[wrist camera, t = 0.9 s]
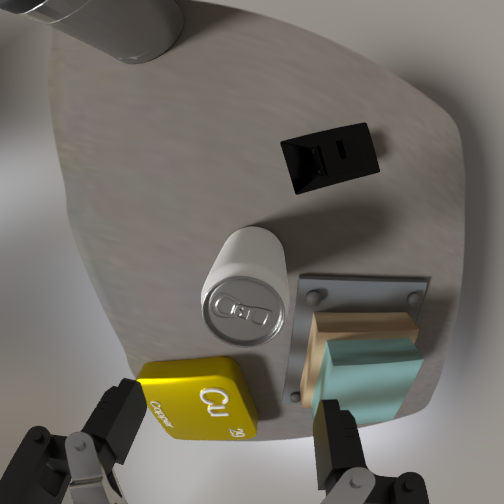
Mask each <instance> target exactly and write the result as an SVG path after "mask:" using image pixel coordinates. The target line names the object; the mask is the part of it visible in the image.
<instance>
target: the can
mask: <svg viewBox="0 0 504 504" xmlns="http://www.w3.org/2000/svg"><path fill="white" fill-rule="evenodd" d="M201 304H202V317H203V320H204V323H205V325H206V327H207V328H208V330H209V331H210V332H211V333H212V334H213V335H214V336H215V337H216V338H217V339H219V340H220V341H222V342H224V343H226V344H229V345H232V346H236V347H243V348H248V347H256V346H260V345H262V344H265V343H267V342H269V341H270V340H272V339H273V338H274V337H275V336H276V335H277V334H278V333H279V331H280V330H281V328H282V326H283V324H284V320H285V319H286V317H287V314H288V311H289V306H290V295H289V286H288V277H287V270H286V263H285V256H284V251H283V247H282V245H281V243H280V241H279V239H278V238H277V237H276V236H275V235H274V234H273V233H271V232H270V231H268V230H266V229H264V228H260V227H245V228H242V229H239V230H237V231H236V232H234V233H233V234H232V235H231V236H230V237H229V238H228V239H227V241H226V242H225V244H224V246H223V248H222V249H221V251H220V253H219V255H218V257H217V259H216V261H215V263H214V265H213V267H212V269H211V271H210V273H209V275H208V277H207V279H206V281H205V283H204V286H203V289H202V294H201Z"/></svg>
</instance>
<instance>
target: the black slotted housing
mask: <svg viewBox="0 0 504 504" xmlns="http://www.w3.org/2000/svg"><path fill="white" fill-rule="evenodd" d="M280 144H281V147H282V151H283V154H284V157H285V160H286V164H287V167H288V170H289V174H290V177H291V180H292V184H293V187H294V191H295V194H296V195H298V194H302V193H305V192H308V191H312V190H316V189H319V188H323V187H326V186H330V185H333V184H337V183H341V182H344V181H348V180H352V179H356V178H359V177H363V176H367V175H371V174H375V173H379V172H380V169H379V165H378V161H377V157H376V153H375V149H374V146H373V142H372V139H371V136H370V132H369V129H368V126H367V123H365V122H364V123H359V124H354V125H349V126H344V127H339V128H334V129H330V130H325V131H321V132H317V133H312V134H308V135H304V136H300V137H296V138H292V139H289V140H285V141H281V142H280Z"/></svg>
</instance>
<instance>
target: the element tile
mask: <svg viewBox="0 0 504 504" xmlns="http://www.w3.org/2000/svg"><path fill="white" fill-rule="evenodd" d="M136 381H139V382H140V383H141V386H142V389H143V392H144V395H145V398H146V401H147V406H148V408H149V409H150V410H151V412H152V413H153V415H154V416H155V417H156V419H157V420H158V421H159V423H160V424H161V425H162V427H163V428H164V429H165V431H166V432H167V433H168V434H169V435H171V436H172V437H173V438H175V439H182V440H241V439H250V438H253V437H254V436H256V433H257V423H258V413H257V410H256V408H255V405H254V403H253V400H252V398H251V395H250V393H249V390H248V388H247V385H246V382H245V380H244V377H243V375H242V372H241V369H240V367H239V365H238V363H237V362H236V361H235V360H233V359H231V358H229V357H224V356H217V357H208V358H198V359H187V360H175V361H159V362H148V363H146V364H144V365H143V367H142V369H141V371H140V373H139V374H138V376H137V378H136Z"/></svg>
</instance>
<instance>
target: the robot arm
mask: <svg viewBox="0 0 504 504" xmlns="http://www.w3.org/2000/svg"><path fill="white" fill-rule="evenodd" d="M0 8H1V9H3V10H6V11H9V12H12V13H15V14H19V15H21V16H24V17H27V18H30V19H32V20H35V21H37V22H40V23H43V24H45V25H48V26H51V27H52V28H55V29H57V30H59V31H61V32H64V33H66V34H68V35H70V36H72V37H75V38H77V39H79V40H81V41H83V42H85V43H87V44H89V45H91V46H93V47H95V48H97V49H99V50H101V51H103V52H105V53H106V54H108V55H110V56H112V57H114V58H116V59H118V60H120V61H122V62H124V63H128V64H139V63H144V62H147V61H150V60H152V59H154V58H156V57H158V56H159V55H161V54H163V53H164V52H165V51H166V50H168V49H169V48H170V47H171V46H172V45H173V44H174V42H175V41H176V40H177V38H178V37H179V35H180V33H181V31H182V28H183V23H184V17H183V13H182V11H181V9H180V8H179V6H178V5H177V3H176V2H175V0H0ZM146 410H147V401H146V398H145V395H144V392H143V389H142V386H141V383H140V382H139V381H136V380H131V379H127V378H124V379H122V381H121V382H120V384H119V386H118V387H116V386H113V387H111V388H110V389H108V390H107V391H106V392H105V393H104V395H103V396H102V398H101V399H100V401H99V403H98V404H97V407H96V408H95V409H94V411H93V413H92V414H91V416H90V418H89V419H88V421H87V422H86V424H85V426H84V428H83V429H82V430H81V431H80V432H74V433H72V434H70V435H69V436H68V437H67V436H58V435H52V434H50V432H49V431H48V430H47V429H46V428H45V427H42V426H35V427H32V428H31V429H30V430H29V431H28V432H27V434H26V435H25V437H24V439H23V440H22V442H21V444H20V446H19V448H18V449H17V451H16V453H15V454H14V456H13V458H12V460H11V461H10V463H9V465H8V467H7V469H6V471H5V472H4V474H3V477H2V478H1V480H0V504H61V503H62V500H63V498H64V495H65V493H66V490H67V488H68V485H69V489H70V493H71V496H72V500H73V503H74V504H128V503H127V501H126V499H125V497H124V495H123V492H122V490H121V487H120V485H119V482H118V480H117V477H116V474H115V472H114V469H113V466H114V464H115V462H116V463H119V464H121V465H123V464H124V462H125V459H126V457H127V455H128V452H129V450H130V448H131V445H132V443H133V441H134V439H135V436H136V434H137V432H138V429H139V427H140V425H141V423H142V421H143V418H144V416H145V413H146ZM313 437H314V447H315V457H316V468H317V480H318V490H326V498H325V499H324V500H323V501H322V502H321V504H429V499H428V495H427V490H426V486H425V482H424V479H423V478H422V476H421V475H419V474H417V473H415V472H406V473H403V474H402V475H400V476H399V477H398V478H397V477H384V476H378V475H375V474H374V473H372V472H371V471H370V470H369V469H368V468H367V466H366V463H365V458H364V454H363V450H362V445H361V441H360V437H359V433H358V429H357V424H356V420H355V417H354V416H353V415H352V414H351V412H350V411H349V410H340V406H339V402H338V400H337V399H325V400H320V401H319V405H318V408H317V411H316V414H315V417H314V421H313ZM71 478H72V483H70V481H71ZM69 483H70V484H69Z"/></svg>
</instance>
